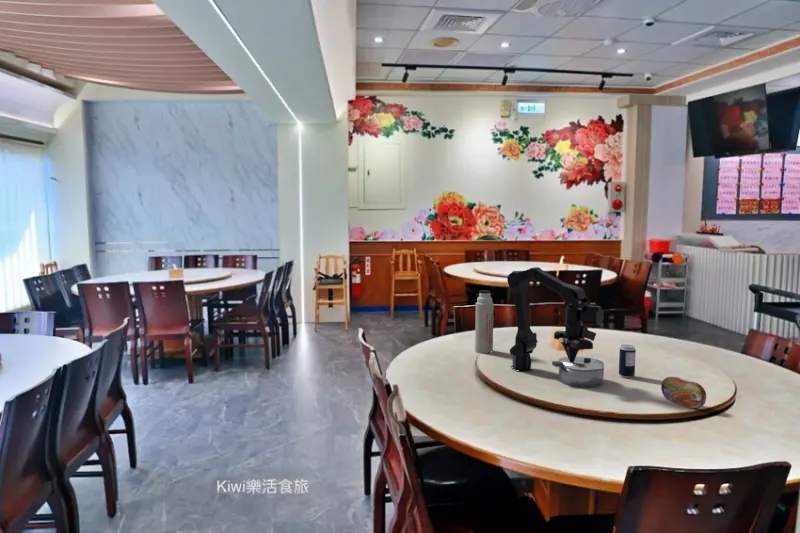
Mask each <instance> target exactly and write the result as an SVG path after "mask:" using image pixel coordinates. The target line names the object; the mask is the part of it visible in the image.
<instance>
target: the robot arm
mask: <svg viewBox="0 0 800 533" xmlns="http://www.w3.org/2000/svg"><path fill="white" fill-rule="evenodd" d="M506 279H507V283H508V288H509V290H510V291H511V293H512V295H513V302H514V308H515V309H514V310H515V318H516V325H517V332H516V335H515V338H514V339H515V343H514V345H513V346H512V347H511V348H510V349H509V353H510V355H511V356H512V365H511V366H510V368H511V367H513V368H514V369H515V370H514V369H513V368H512V369H513V370H514V371H516V370H531V371H533V368H532V357H531V354H533V351H534V350H535V349H536V348H537V343H538V342H539V341H538V339H537V338H538V337H537V332H533V331H532V329H531V325H530V324H531V322H530V315H529V307H528V299H527V291H528V288H529V282H530V281H532V280H535V281H537V282H538V283H540V284H542V285H544V286H545V287H547V288H548V289H551V290H552V291H554V292H555V293H557V294H558V295H559V297H560V298H561V299H562V300H563V301H564V303H563V304H562V305H560V309H565V322H562V326H563V327H564V328H565V329H564V330H556V331H555V332H554V334H553V339H555V340H558V341H559V340H560V339H562V342H560V344H561V345H562V347H563V349H564V351H565V354H566V357H568V359H569V361H570V362H571V363H574V360H575V358H576V356H577V355H578V353H579V352H580V351H581V350H593V349H594V343H593V342H594V341H595V338H596V336H597V333H596V332H594V331H592V330H590V329H588V327H587V326H586V325H585V324H588V325H593V326H601V325H603V322H604V319H605V315H604V311H603V310H602V306H601V305H592V303H590V301H589V299H588V298H587V296H586V293H585V289H583V288H582V287H579V286H577V285H574V284H570V283H566V282H564V281H562V280H561V279H559V278H557V277H555V276H553V275H552V274H550V273H549V272H547V271H545V270H543V269H542V268H540V267H538V266H537V267H535V266H534V267H530V268H528V269H526V270H523V271H522V270H521V271H512V272H510V273H509V274H508V276H507V278H506ZM582 323H583V324H582Z"/></svg>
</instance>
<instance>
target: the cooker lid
mask: <svg viewBox="0 0 800 533" xmlns="http://www.w3.org/2000/svg"><path fill="white" fill-rule="evenodd" d="M551 365H552V366H554V367H556V368H559V367H562V366H563V367H566V368H570V369H575V370H583V371H594V370H600V369H603V368H604V369H605V364H604V362H603V361H602V360H599V359H598V358H597V359H596V358H593V357H587V356H577V355H576V358H575V360H574V363H571V362H570V361H569V359H568V356H564V357H560V358H559V359H558V360H556V361H552V362H551Z"/></svg>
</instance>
